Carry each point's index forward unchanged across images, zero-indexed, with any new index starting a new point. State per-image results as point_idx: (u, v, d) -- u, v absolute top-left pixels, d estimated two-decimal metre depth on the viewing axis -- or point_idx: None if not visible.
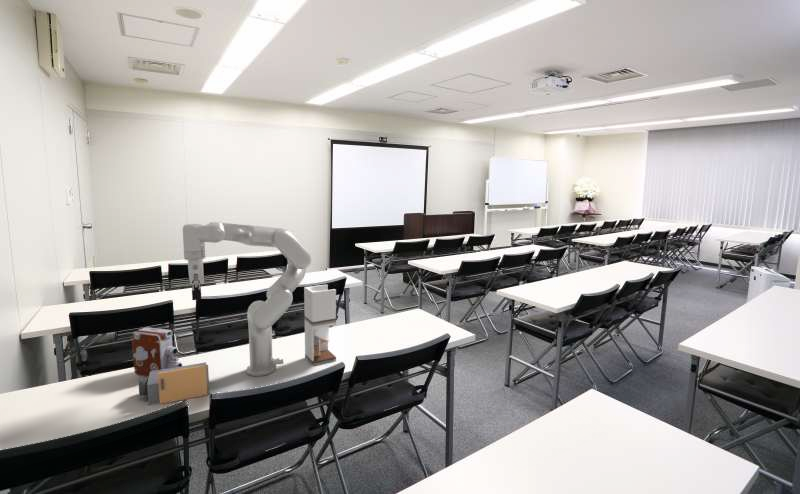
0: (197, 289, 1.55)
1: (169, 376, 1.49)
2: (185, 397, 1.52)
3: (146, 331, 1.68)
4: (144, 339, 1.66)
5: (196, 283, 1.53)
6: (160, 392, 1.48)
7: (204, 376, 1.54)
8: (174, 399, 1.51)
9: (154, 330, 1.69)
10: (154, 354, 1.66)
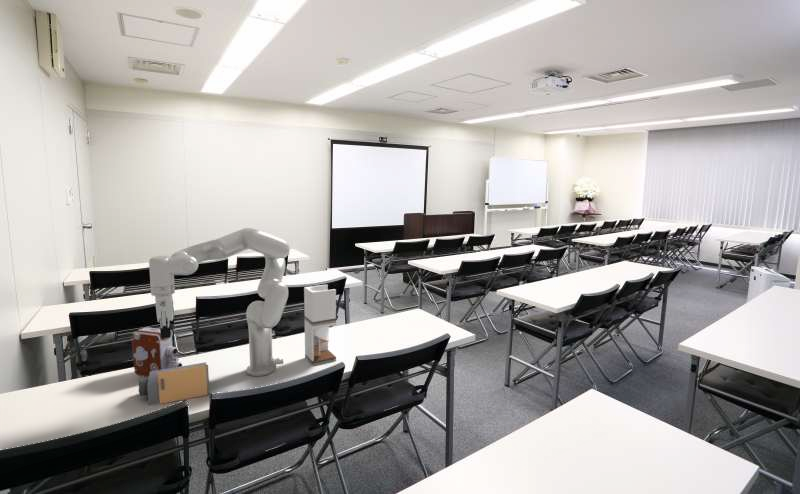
0: None
1: (169, 376, 1.49)
2: (185, 397, 1.52)
3: (146, 331, 1.68)
4: (144, 339, 1.66)
5: (164, 325, 1.44)
6: (160, 392, 1.48)
7: (204, 376, 1.54)
8: (174, 399, 1.51)
9: (154, 330, 1.69)
10: (154, 354, 1.66)
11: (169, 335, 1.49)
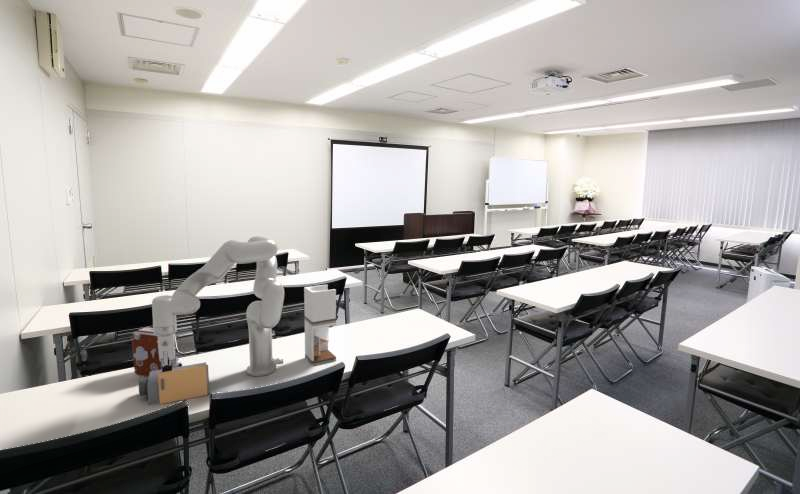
0: None
1: (169, 376, 1.49)
2: (185, 397, 1.52)
3: (146, 331, 1.68)
4: (144, 339, 1.66)
5: (166, 365, 1.46)
6: (160, 392, 1.48)
7: (204, 376, 1.54)
8: (174, 399, 1.51)
9: None
10: (154, 354, 1.66)
11: None
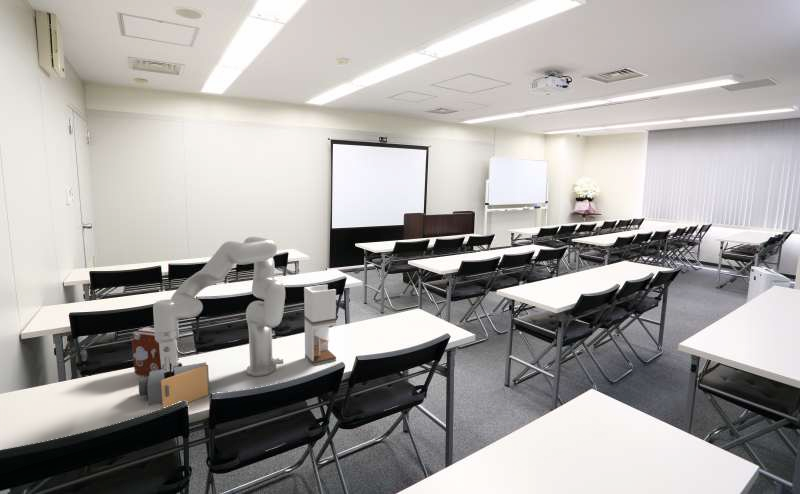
0: None
1: (173, 381, 1.45)
2: (188, 401, 1.50)
3: (146, 331, 1.68)
4: (144, 339, 1.66)
5: None
6: (164, 400, 1.43)
7: (205, 376, 1.54)
8: None
9: (154, 330, 1.69)
10: (154, 354, 1.66)
11: None
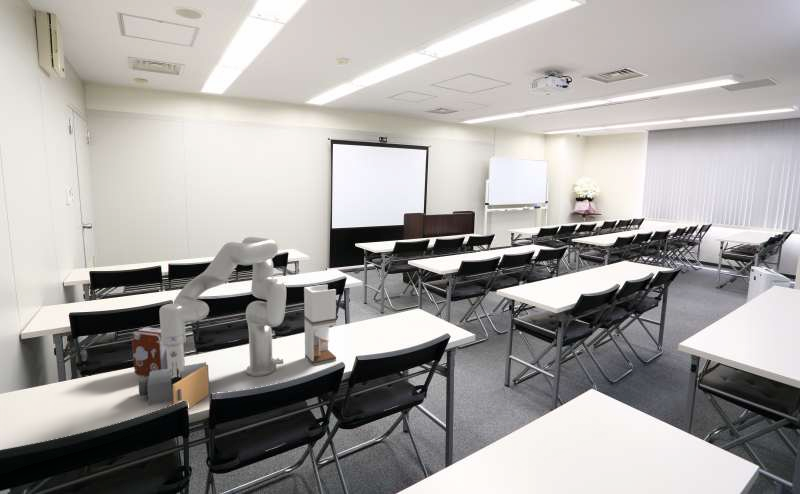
0: None
1: (183, 385, 1.43)
2: (194, 402, 1.49)
3: (146, 331, 1.68)
4: (144, 339, 1.66)
5: (175, 376, 1.39)
6: None
7: (206, 376, 1.54)
8: None
9: (154, 330, 1.69)
10: (154, 354, 1.66)
11: None
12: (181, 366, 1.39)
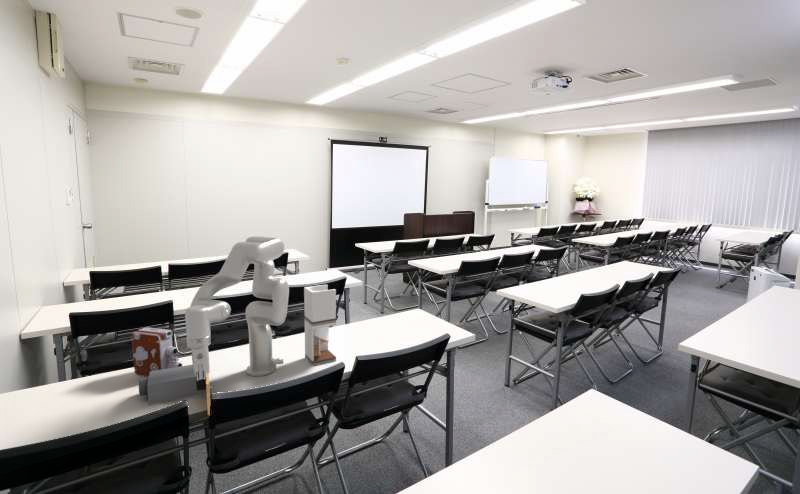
0: None
1: None
2: None
3: (146, 331, 1.68)
4: (144, 339, 1.66)
5: None
6: None
7: None
8: None
9: (154, 330, 1.69)
10: (154, 354, 1.66)
11: (205, 387, 1.43)
12: (207, 368, 1.38)
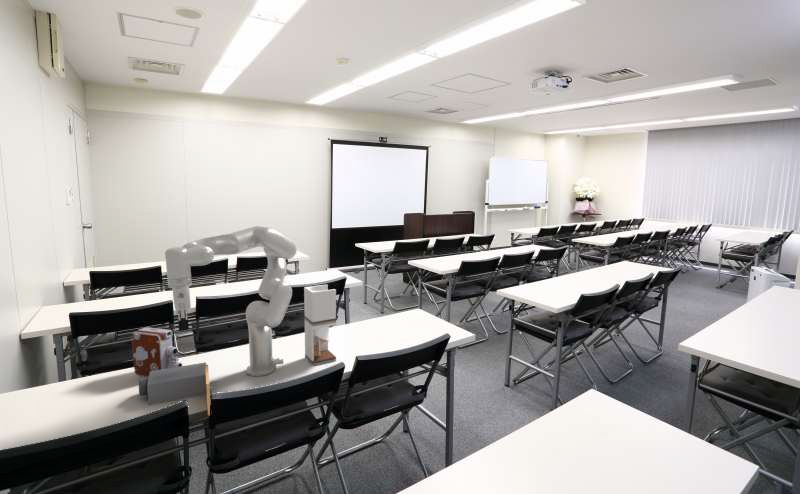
0: None
1: None
2: None
3: (146, 331, 1.68)
4: (144, 339, 1.66)
5: (183, 318, 1.42)
6: None
7: None
8: None
9: (154, 330, 1.69)
10: (154, 354, 1.66)
11: (187, 327, 1.47)
12: (188, 307, 1.42)
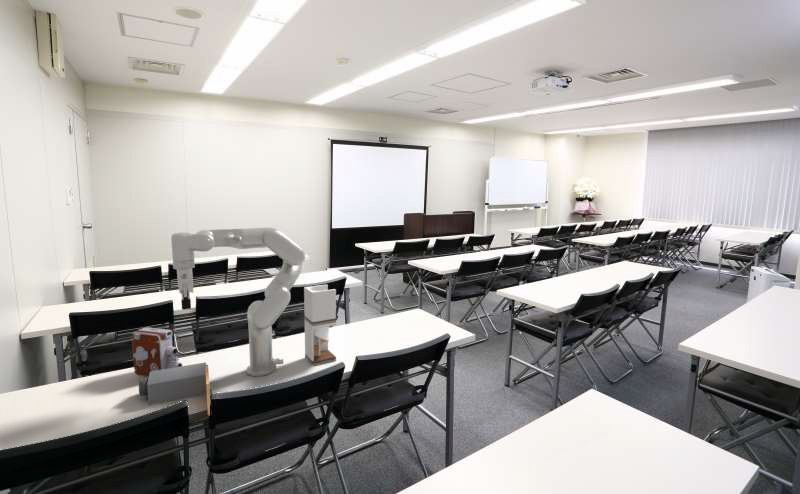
0: None
1: None
2: None
3: (146, 331, 1.68)
4: (144, 339, 1.66)
5: (185, 297, 1.55)
6: None
7: None
8: None
9: (154, 330, 1.69)
10: (154, 354, 1.66)
11: (189, 306, 1.60)
12: (191, 288, 1.55)
